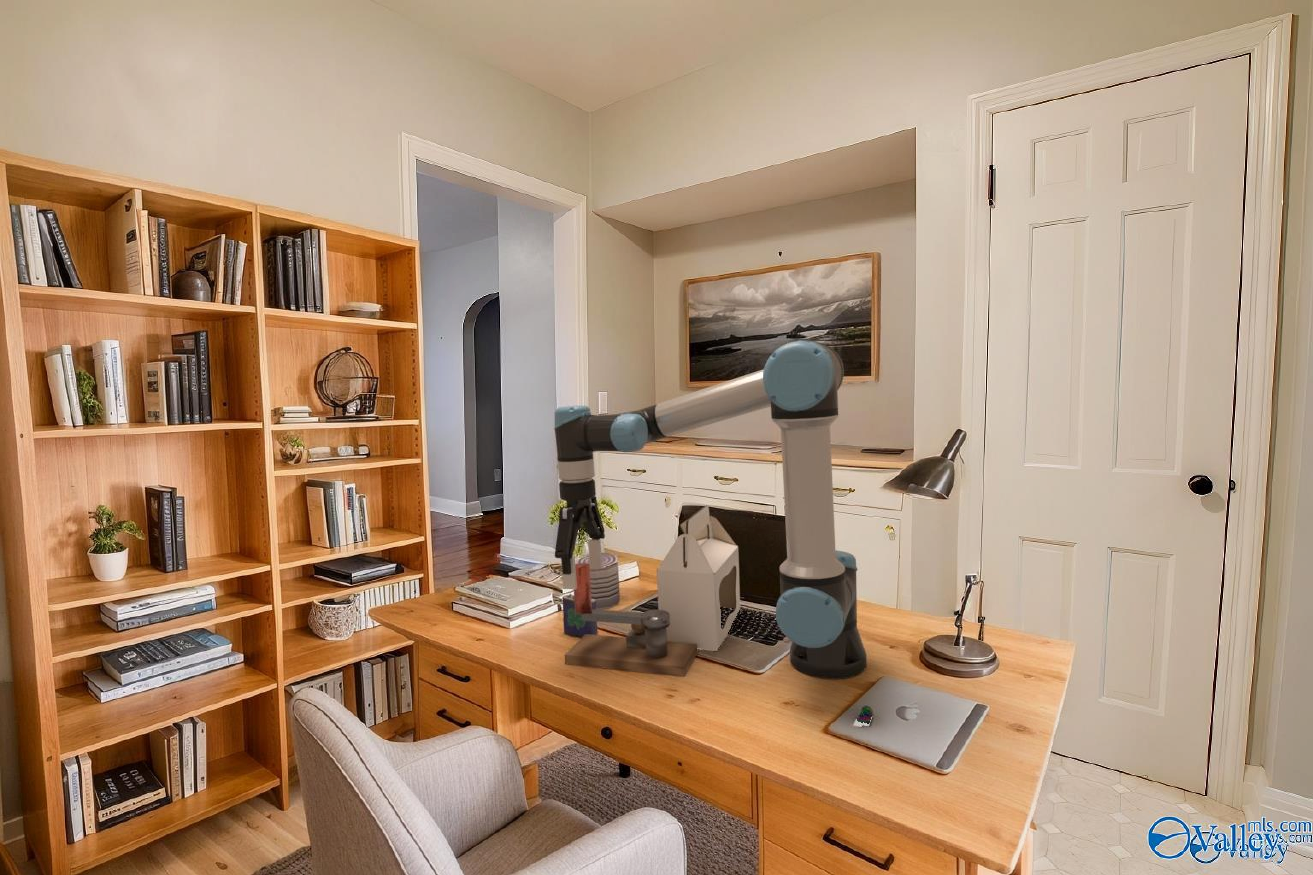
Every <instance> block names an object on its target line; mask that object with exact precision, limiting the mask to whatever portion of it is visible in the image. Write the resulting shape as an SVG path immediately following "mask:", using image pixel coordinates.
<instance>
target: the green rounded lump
mask: <svg viewBox="0 0 1313 875" xmlns="http://www.w3.org/2000/svg"><path fill="white" fill-rule="evenodd" d="M872 716H873V717H874V710H873V708H872V707H871V706H869V705H863V706H862V708H861V710H860V711H859V714H858V716H857V717H858V718H857V717H856V718H857V721H858V722H861V723H863V722H864V723H867V724H869V723H870V720H871V717H872Z"/></svg>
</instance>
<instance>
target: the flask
mask: <svg viewBox="0 0 1313 875" xmlns="http://www.w3.org/2000/svg"><path fill="white" fill-rule="evenodd" d="M561 600H562V614H563V621H562V623H563V634H564V635H566V636H569V637H572V638H578V639H581V638H582V637H583V636H584V635H585V634H591V635H599V631H598V622H597V621H583V620H582V617H581V614H577V613H575V603H574V594H572V593H569V594H565V595H563V596H562V599H561ZM591 603H592V609H593V610H596V600H595V599H591Z"/></svg>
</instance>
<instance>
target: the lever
mask: <svg viewBox="0 0 1313 875" xmlns="http://www.w3.org/2000/svg"><path fill="white" fill-rule="evenodd" d="M575 568H576V581H577V589H573V595H574V603H575V613H577V614H581V617H582V620H583V621H597V623H601V622H602V623H613V624H626V625H627V624H628V625H631V624H638V625H641V626H642V627H643V628H644V629H647V630H661V629H665V628H667V627H668V626H669V625H670V614H669V613H668V612H667V611H664V610H658V609H651V610H646V611H644V612H637V611H634V612H633V611H619V610H609V609H608V610H607V609H602V610H593V609H592V603H591V585H590V566H589V564H588V563H578V564H576V563H575Z"/></svg>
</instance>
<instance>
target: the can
mask: <svg viewBox="0 0 1313 875" xmlns="http://www.w3.org/2000/svg"><path fill="white" fill-rule="evenodd" d="M601 554H602V569H590V585H591V599H595V600H596V610H607V609H608V610H609V609H611V608H613V607H616V606H618V605H619V604H620V600H621V598H620V578H619V577H620V575H619V555H617V554H614V553H610V552H606V551H605V552H601ZM578 563H588V564H589V566H590V562H589V553H588V554H586V555H584V556H583V555H582V556H581V557H579V558H576V559H575V564H578Z"/></svg>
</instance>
